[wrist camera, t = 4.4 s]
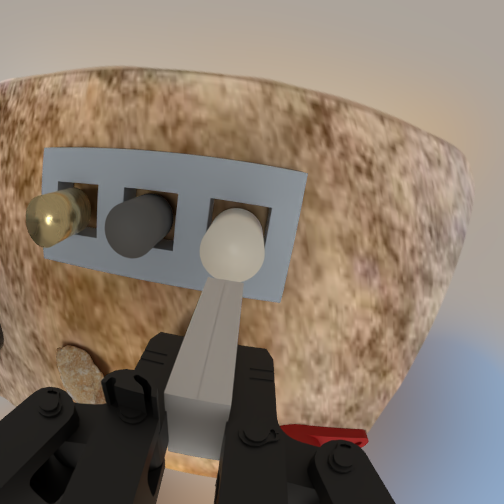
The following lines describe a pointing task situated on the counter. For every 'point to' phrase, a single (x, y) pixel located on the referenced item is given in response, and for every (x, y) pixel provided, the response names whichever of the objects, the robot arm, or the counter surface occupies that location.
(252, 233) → the white rounded cylinder
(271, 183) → the grey slotted holder
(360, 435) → the lever
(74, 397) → the stone
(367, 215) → the counter surface
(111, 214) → the dark gray cylinder
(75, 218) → the gold cylinder
